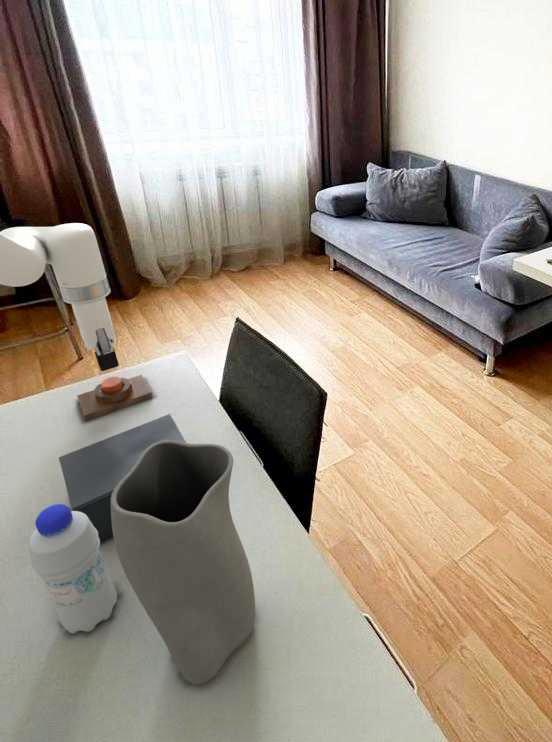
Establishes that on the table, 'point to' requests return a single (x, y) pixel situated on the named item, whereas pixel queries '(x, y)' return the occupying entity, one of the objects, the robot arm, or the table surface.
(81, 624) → the bottle
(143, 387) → the block
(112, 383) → the button
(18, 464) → the table surface
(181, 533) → the vase
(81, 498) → the lid
